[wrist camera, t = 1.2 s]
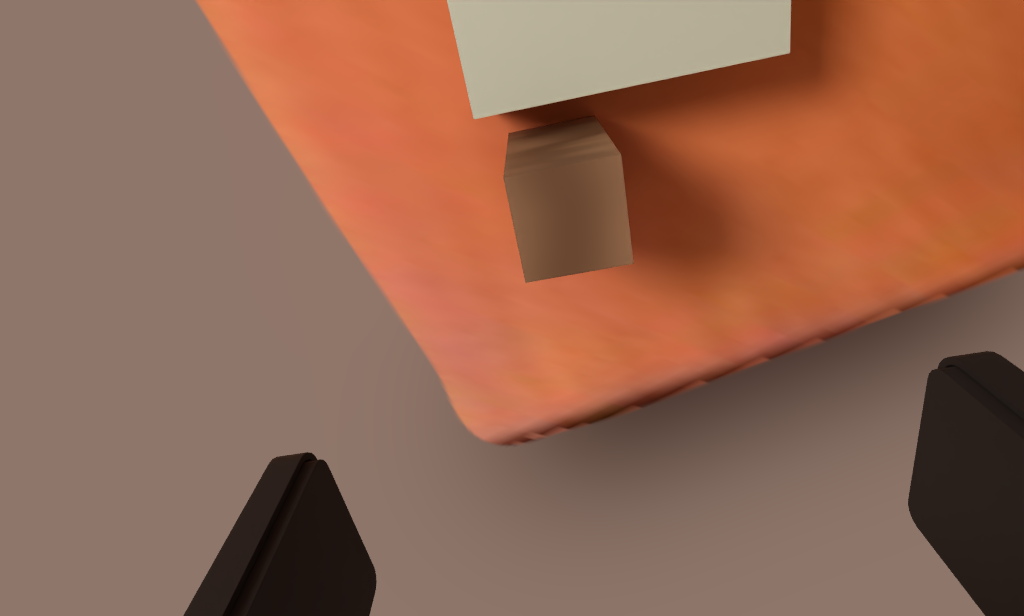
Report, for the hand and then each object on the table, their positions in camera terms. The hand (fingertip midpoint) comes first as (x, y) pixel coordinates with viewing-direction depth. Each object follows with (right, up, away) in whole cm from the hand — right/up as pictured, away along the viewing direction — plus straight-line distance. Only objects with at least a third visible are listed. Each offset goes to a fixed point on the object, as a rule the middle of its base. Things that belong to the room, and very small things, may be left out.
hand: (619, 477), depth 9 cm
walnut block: (0, +9, +18) cm, 20 cm away
